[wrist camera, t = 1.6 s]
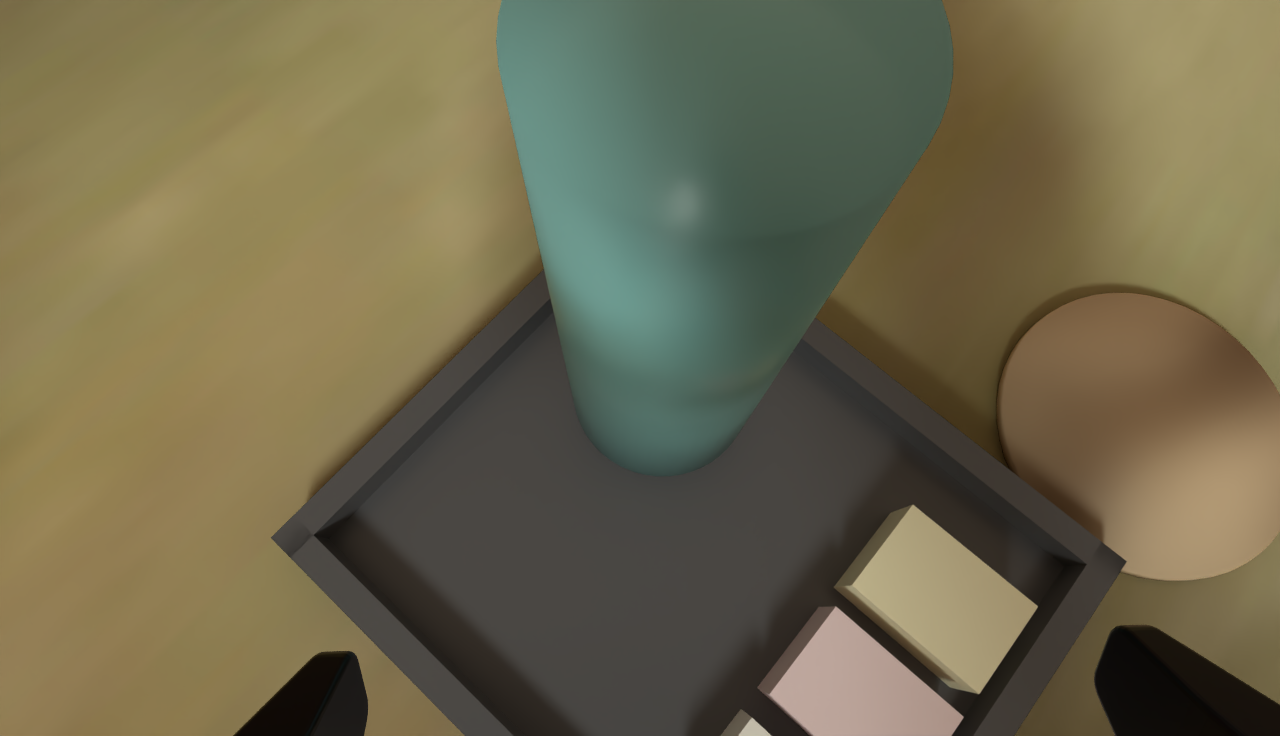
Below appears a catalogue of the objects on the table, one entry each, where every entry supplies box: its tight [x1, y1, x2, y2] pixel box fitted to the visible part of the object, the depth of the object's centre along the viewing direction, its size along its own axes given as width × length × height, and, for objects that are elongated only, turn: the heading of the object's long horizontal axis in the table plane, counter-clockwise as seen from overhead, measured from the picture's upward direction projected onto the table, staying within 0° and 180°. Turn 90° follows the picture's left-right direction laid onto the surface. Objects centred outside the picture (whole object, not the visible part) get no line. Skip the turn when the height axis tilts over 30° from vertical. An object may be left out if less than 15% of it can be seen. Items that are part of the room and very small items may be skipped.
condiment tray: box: [271, 270, 1127, 736], centre depth 21 cm, size 18×15×2 cm
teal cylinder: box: [496, 0, 953, 476], centre depth 16 cm, size 5×5×15 cm
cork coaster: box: [997, 293, 1280, 581], centre depth 23 cm, size 9×9×1 cm
